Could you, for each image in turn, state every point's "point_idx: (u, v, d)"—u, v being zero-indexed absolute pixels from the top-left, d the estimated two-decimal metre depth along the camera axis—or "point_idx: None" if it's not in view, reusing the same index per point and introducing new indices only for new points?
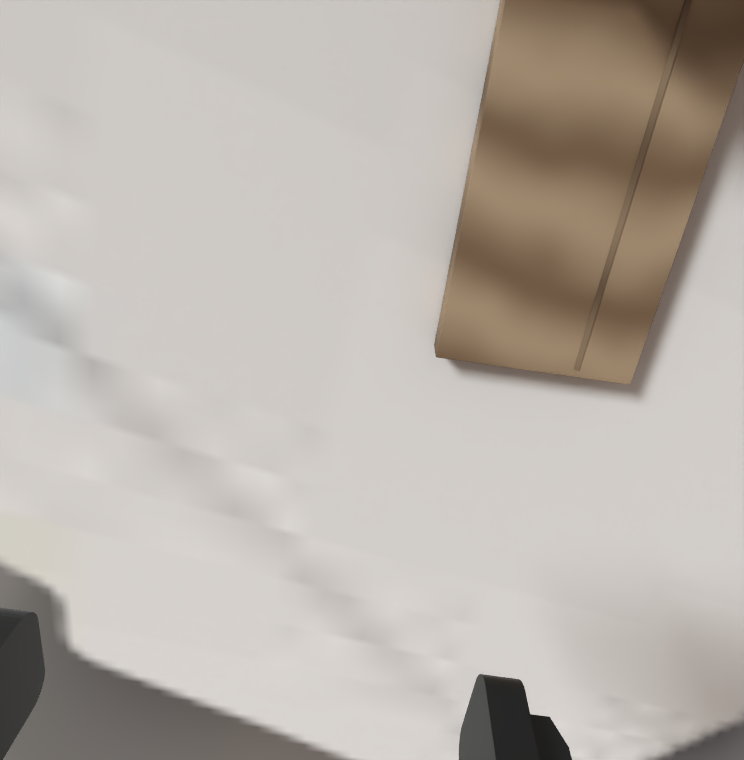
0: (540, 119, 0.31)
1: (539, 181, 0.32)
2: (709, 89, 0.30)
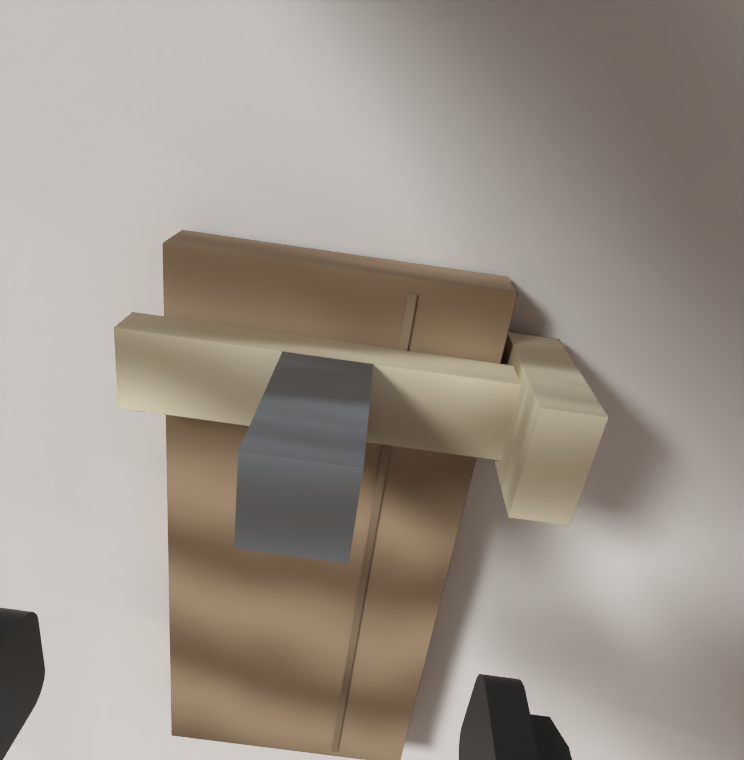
0: None
1: (250, 592, 0.27)
2: (433, 517, 0.25)
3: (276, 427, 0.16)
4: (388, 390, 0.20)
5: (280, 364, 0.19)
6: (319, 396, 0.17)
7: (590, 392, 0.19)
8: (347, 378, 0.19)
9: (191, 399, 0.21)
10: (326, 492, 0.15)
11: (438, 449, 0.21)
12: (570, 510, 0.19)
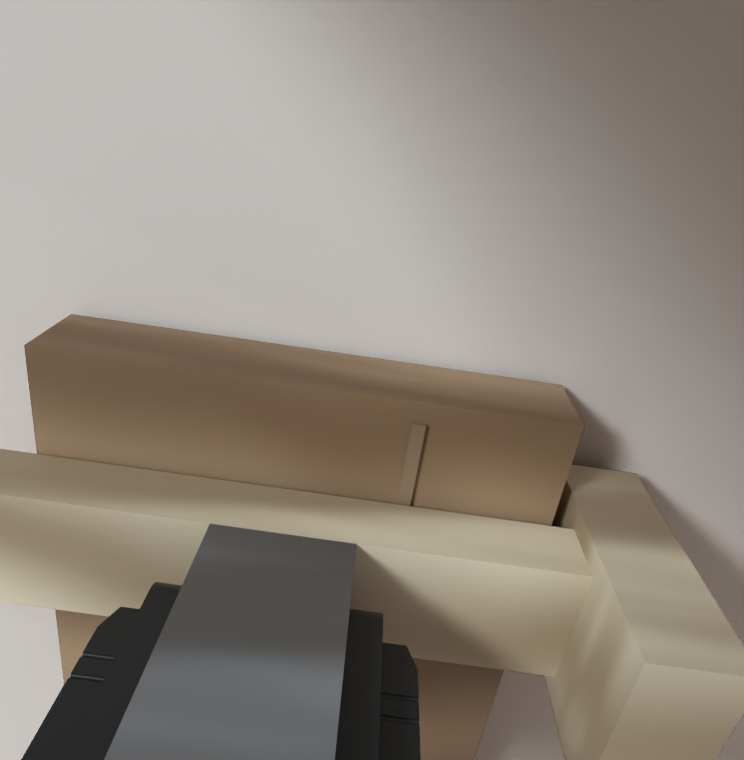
0: None
1: None
2: (446, 717, 0.17)
3: (159, 757, 0.08)
4: (380, 580, 0.13)
5: (200, 558, 0.11)
6: (256, 643, 0.10)
7: (714, 606, 0.11)
8: (310, 586, 0.11)
9: (71, 587, 0.13)
10: None
11: (458, 660, 0.14)
12: None
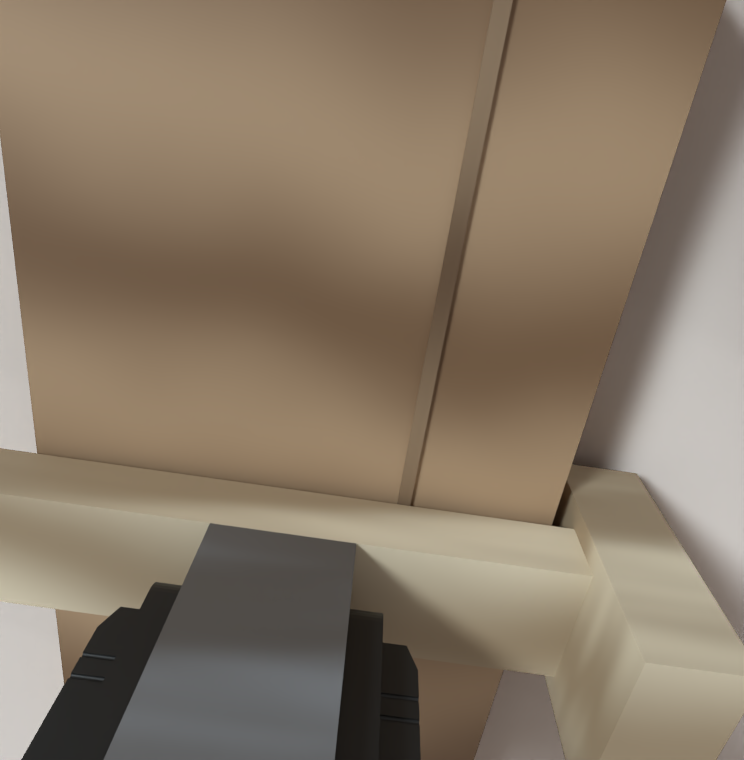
0: None
1: None
2: (522, 455, 0.13)
3: (159, 756, 0.08)
4: (380, 580, 0.13)
5: (200, 557, 0.11)
6: (256, 642, 0.10)
7: (715, 606, 0.11)
8: (311, 586, 0.11)
9: (71, 586, 0.13)
10: None
11: (458, 660, 0.14)
12: None
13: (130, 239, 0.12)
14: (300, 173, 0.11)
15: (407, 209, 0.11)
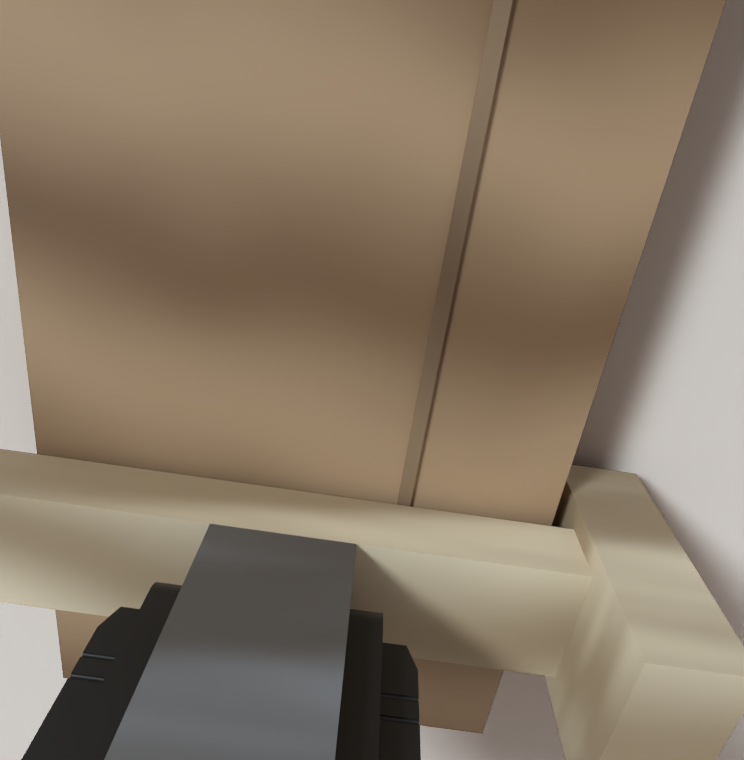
0: (161, 192, 0.11)
1: (196, 344, 0.13)
2: (619, 115, 0.10)
3: (159, 757, 0.08)
4: (380, 580, 0.13)
5: (200, 558, 0.11)
6: (256, 643, 0.10)
7: (714, 606, 0.11)
8: (311, 586, 0.11)
9: (71, 587, 0.13)
10: None
11: (458, 660, 0.14)
12: None
13: None
14: None
15: None
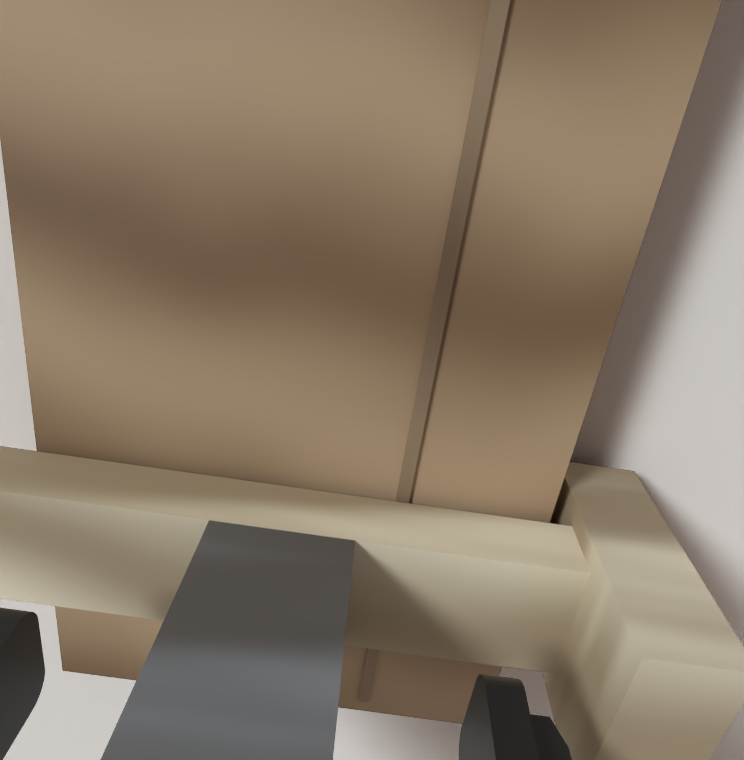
0: (160, 180, 0.11)
1: (196, 334, 0.13)
2: (620, 102, 0.10)
3: (158, 751, 0.08)
4: (379, 577, 0.13)
5: (200, 554, 0.11)
6: (255, 638, 0.10)
7: (712, 602, 0.11)
8: (309, 582, 0.11)
9: (71, 583, 0.13)
10: None
11: (457, 656, 0.14)
12: None
13: None
14: None
15: None
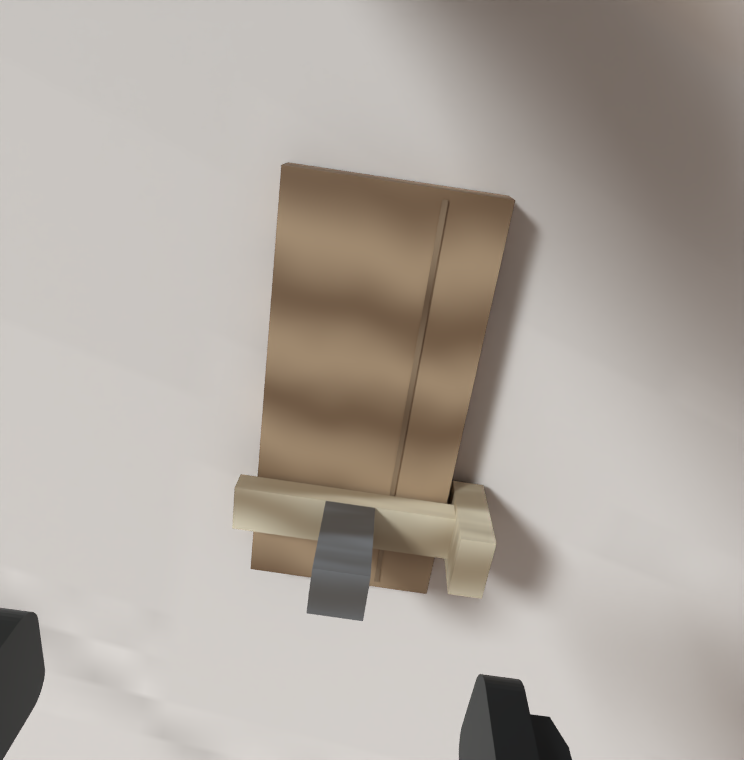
0: (314, 390, 0.35)
1: (320, 437, 0.37)
2: (456, 372, 0.35)
3: (328, 553, 0.32)
4: (383, 521, 0.37)
5: (325, 510, 0.35)
6: (347, 532, 0.34)
7: (491, 526, 0.35)
8: (361, 519, 0.35)
9: (273, 524, 0.37)
10: (353, 587, 0.31)
11: (411, 552, 0.37)
12: (481, 590, 0.35)
13: (314, 291, 0.33)
14: (375, 269, 0.33)
15: (412, 281, 0.33)
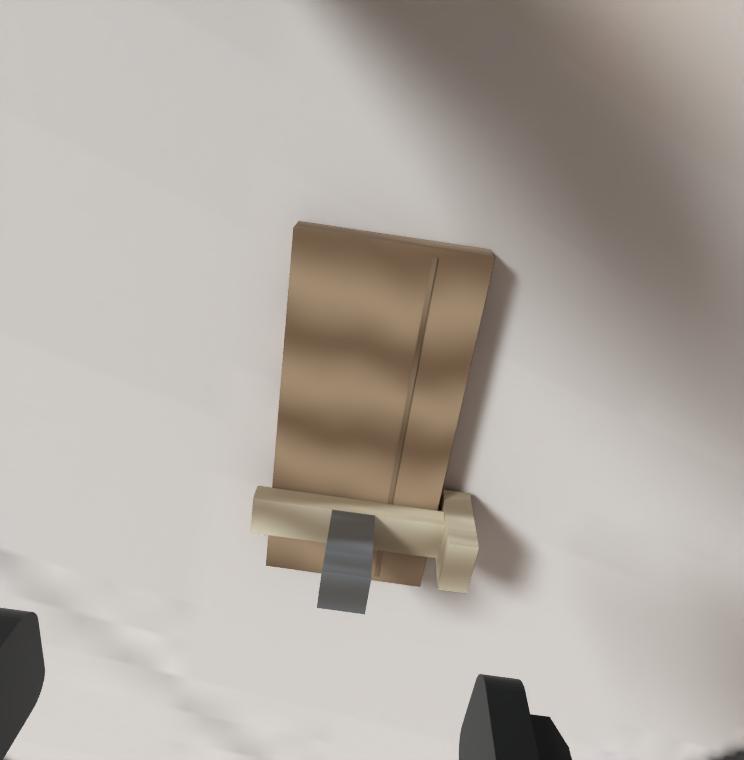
0: (321, 415, 0.41)
1: (327, 454, 0.42)
2: (445, 400, 0.40)
3: (335, 557, 0.38)
4: (382, 526, 0.42)
5: (332, 518, 0.41)
6: (351, 538, 0.39)
7: (475, 532, 0.41)
8: (363, 526, 0.41)
9: (287, 529, 0.43)
10: (356, 586, 0.37)
11: (406, 552, 0.43)
12: (466, 586, 0.41)
13: (321, 332, 0.38)
14: (375, 314, 0.38)
15: (406, 324, 0.38)
